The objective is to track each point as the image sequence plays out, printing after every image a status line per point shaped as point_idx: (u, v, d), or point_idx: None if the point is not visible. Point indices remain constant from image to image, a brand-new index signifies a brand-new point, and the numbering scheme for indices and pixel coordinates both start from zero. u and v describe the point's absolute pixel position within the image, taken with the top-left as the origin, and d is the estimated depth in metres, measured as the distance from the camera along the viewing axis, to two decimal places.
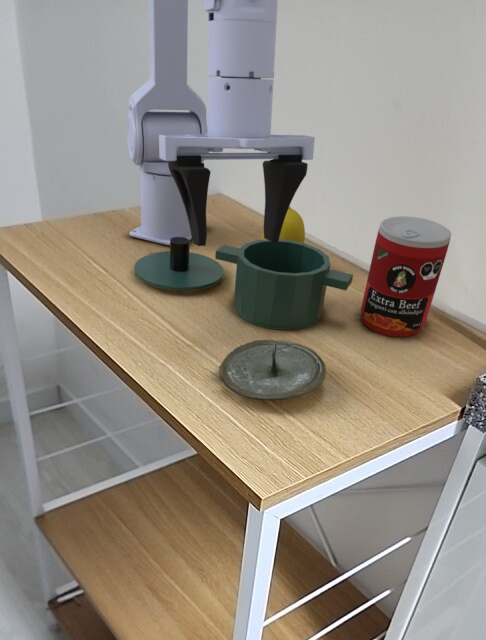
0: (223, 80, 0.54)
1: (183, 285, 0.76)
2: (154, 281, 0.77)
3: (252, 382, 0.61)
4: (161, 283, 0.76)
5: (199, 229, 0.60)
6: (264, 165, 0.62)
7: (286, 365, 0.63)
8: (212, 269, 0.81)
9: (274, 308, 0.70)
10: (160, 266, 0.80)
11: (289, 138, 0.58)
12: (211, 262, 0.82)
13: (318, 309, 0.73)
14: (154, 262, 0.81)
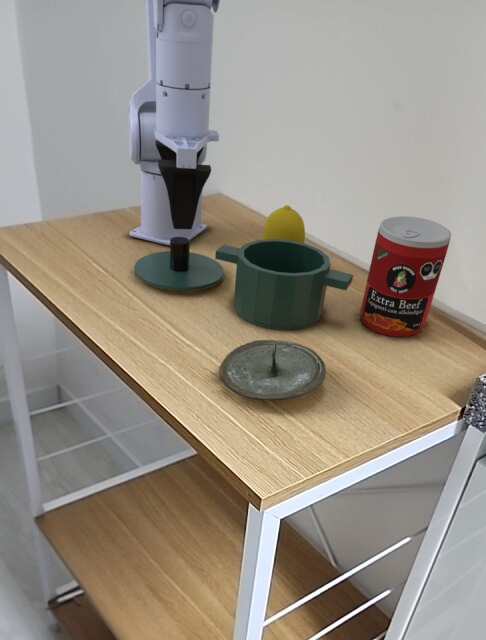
0: (201, 92, 0.66)
1: (183, 285, 0.76)
2: (154, 281, 0.77)
3: (252, 382, 0.61)
4: (161, 283, 0.76)
5: (194, 215, 0.72)
6: (160, 147, 0.74)
7: (286, 365, 0.63)
8: (212, 269, 0.81)
9: (274, 308, 0.70)
10: (160, 266, 0.80)
11: None
12: (211, 262, 0.82)
13: (318, 309, 0.73)
14: (154, 262, 0.81)
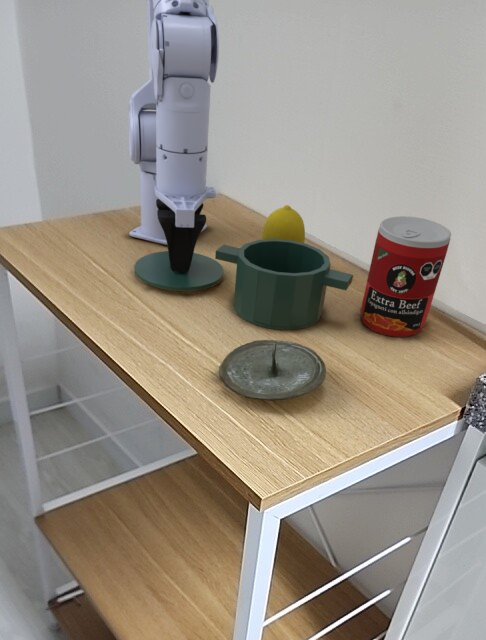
0: (198, 155, 0.70)
1: (183, 285, 0.77)
2: (154, 281, 0.77)
3: (252, 382, 0.61)
4: (161, 283, 0.76)
5: (191, 259, 0.78)
6: (161, 207, 0.77)
7: (286, 365, 0.63)
8: (212, 269, 0.81)
9: (274, 308, 0.70)
10: (160, 266, 0.80)
11: None
12: (211, 262, 0.82)
13: (318, 309, 0.73)
14: (154, 262, 0.81)
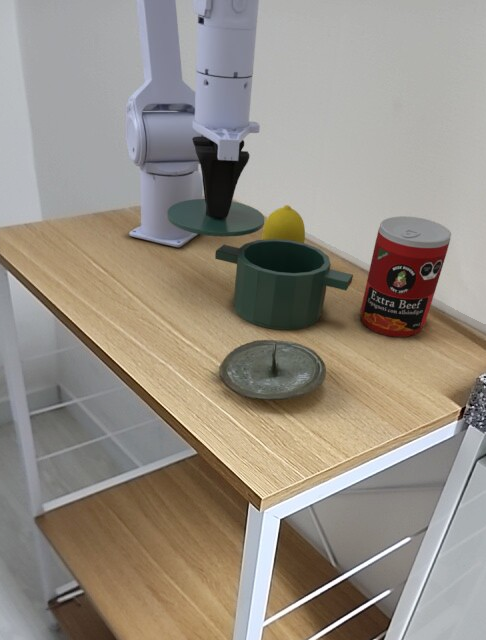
0: (243, 80, 0.63)
1: (222, 230, 0.70)
2: (190, 226, 0.70)
3: (252, 382, 0.61)
4: (198, 228, 0.70)
5: (230, 203, 0.71)
6: (198, 145, 0.70)
7: (286, 365, 0.63)
8: (252, 216, 0.74)
9: (274, 308, 0.70)
10: (195, 212, 0.73)
11: None
12: (250, 210, 0.76)
13: (318, 309, 0.73)
14: (188, 209, 0.74)
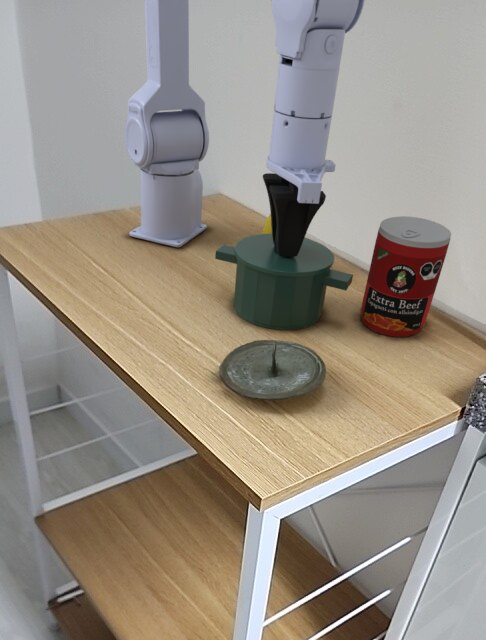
0: (324, 121, 0.61)
1: (294, 270, 0.68)
2: (261, 265, 0.68)
3: (252, 382, 0.61)
4: (270, 268, 0.68)
5: (301, 242, 0.69)
6: (269, 183, 0.68)
7: (286, 365, 0.63)
8: (320, 253, 0.72)
9: (274, 308, 0.70)
10: (263, 249, 0.72)
11: None
12: (317, 245, 0.74)
13: (318, 309, 0.73)
14: (255, 245, 0.72)
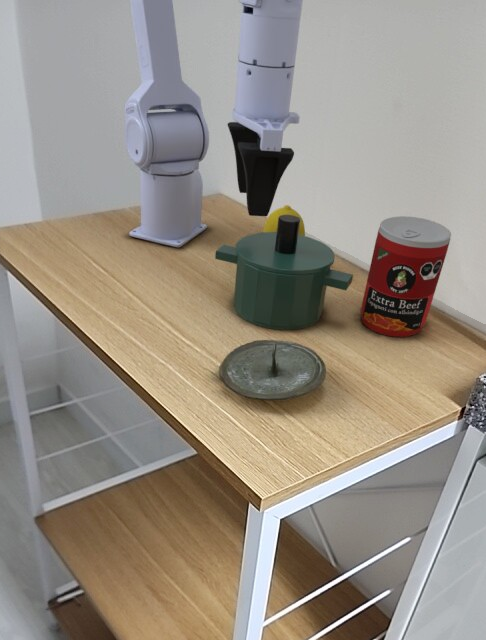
0: (286, 70, 0.63)
1: (298, 268, 0.68)
2: (265, 264, 0.68)
3: (252, 382, 0.61)
4: (274, 266, 0.68)
5: (271, 201, 0.69)
6: (233, 130, 0.71)
7: (286, 365, 0.63)
8: (321, 250, 0.73)
9: (274, 308, 0.70)
10: (264, 248, 0.72)
11: None
12: (316, 243, 0.74)
13: (318, 309, 0.73)
14: (256, 244, 0.73)
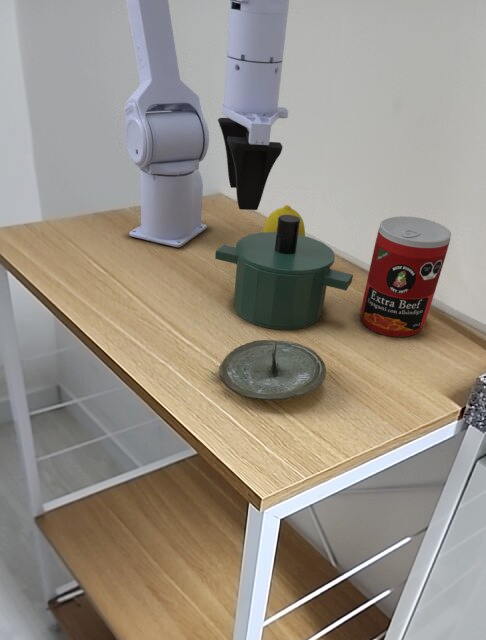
0: (274, 65, 0.64)
1: (298, 268, 0.68)
2: (265, 264, 0.68)
3: (252, 382, 0.61)
4: (274, 266, 0.68)
5: (261, 195, 0.70)
6: (224, 126, 0.72)
7: (286, 365, 0.63)
8: (321, 250, 0.73)
9: (274, 308, 0.70)
10: (264, 248, 0.72)
11: None
12: (316, 243, 0.74)
13: (318, 309, 0.73)
14: (256, 244, 0.73)
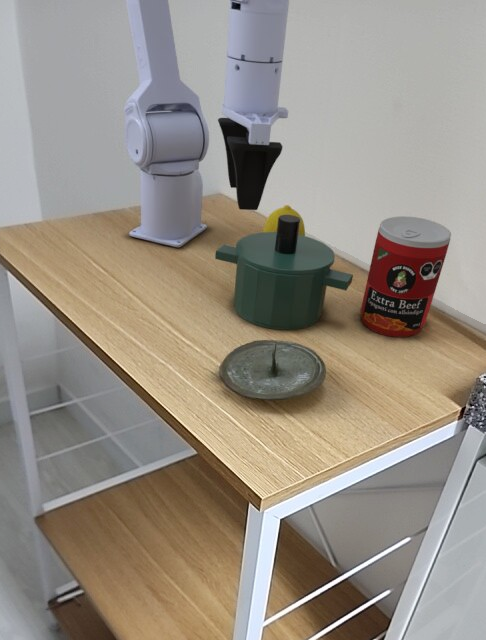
0: (274, 65, 0.64)
1: (298, 268, 0.68)
2: (265, 264, 0.68)
3: (252, 382, 0.61)
4: (274, 266, 0.68)
5: (261, 195, 0.70)
6: (224, 126, 0.72)
7: (286, 365, 0.63)
8: (321, 250, 0.73)
9: (274, 308, 0.70)
10: (264, 248, 0.72)
11: None
12: (316, 243, 0.74)
13: (318, 309, 0.73)
14: (256, 244, 0.73)
